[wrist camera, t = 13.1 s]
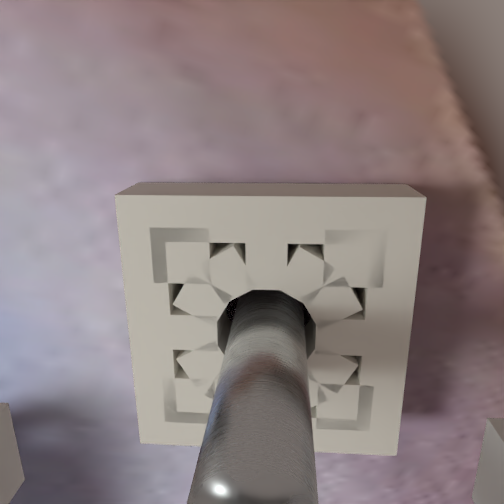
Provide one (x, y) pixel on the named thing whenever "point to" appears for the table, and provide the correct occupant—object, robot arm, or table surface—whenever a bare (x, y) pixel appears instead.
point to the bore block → (272, 278)
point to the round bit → (260, 411)
